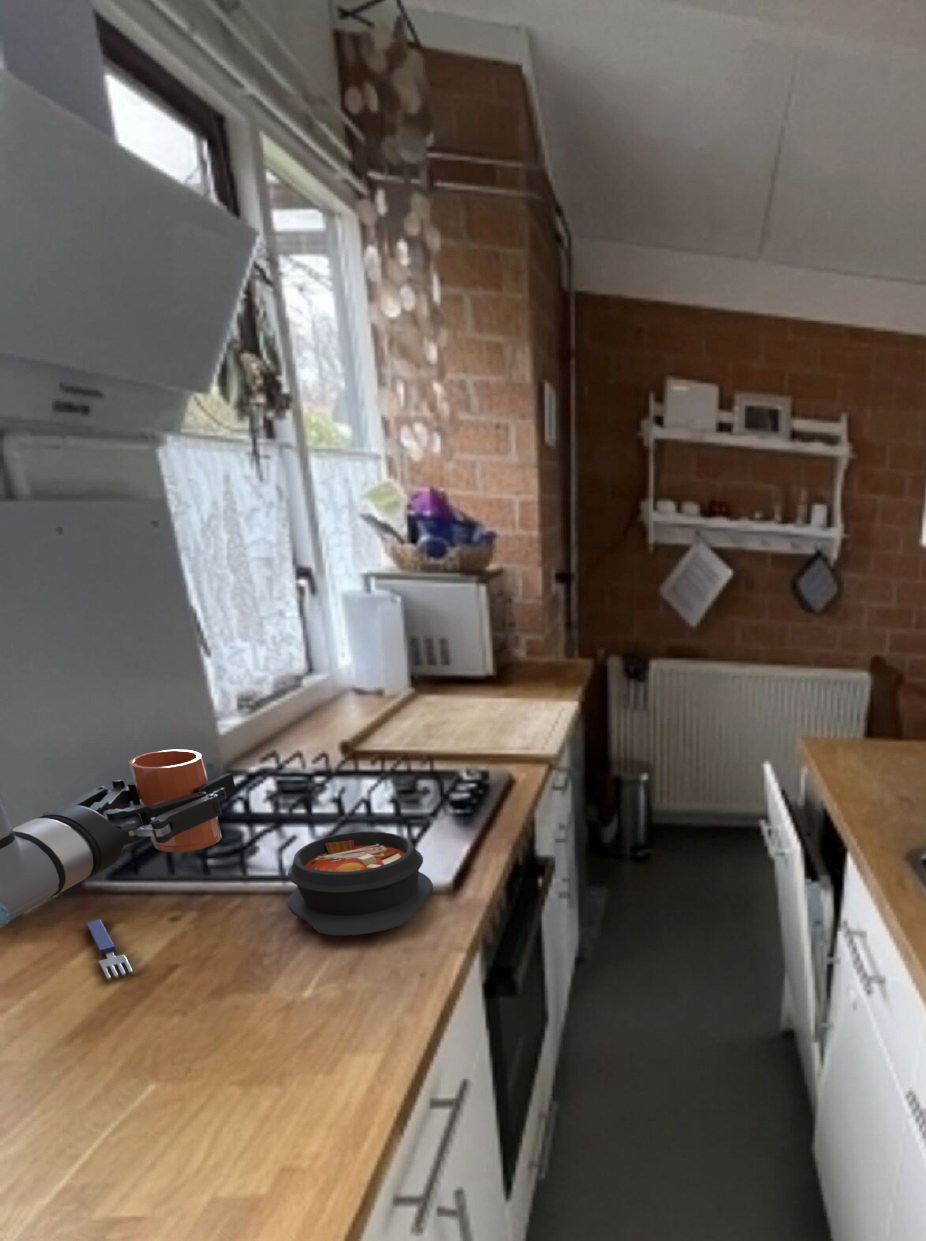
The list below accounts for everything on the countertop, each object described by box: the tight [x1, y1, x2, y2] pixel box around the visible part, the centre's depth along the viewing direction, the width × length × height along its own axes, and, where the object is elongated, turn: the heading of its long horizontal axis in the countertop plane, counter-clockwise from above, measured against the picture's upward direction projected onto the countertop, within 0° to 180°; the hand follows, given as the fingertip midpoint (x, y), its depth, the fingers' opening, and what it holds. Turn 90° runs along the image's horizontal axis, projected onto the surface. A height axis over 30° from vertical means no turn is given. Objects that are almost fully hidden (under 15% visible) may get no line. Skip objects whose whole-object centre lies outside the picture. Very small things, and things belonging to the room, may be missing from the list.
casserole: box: [286, 831, 434, 936], centre depth 121 cm, size 25×19×8 cm
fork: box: [86, 919, 135, 982], centre depth 108 cm, size 16×3×1 cm, turn 44°
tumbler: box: [128, 749, 223, 853], centre depth 109 cm, size 7×7×11 cm
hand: (200, 780), depth 113 cm, fingers closed on tumbler, 7 cm apart
